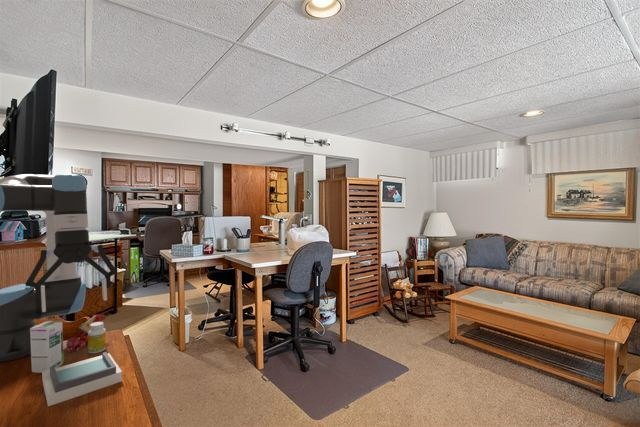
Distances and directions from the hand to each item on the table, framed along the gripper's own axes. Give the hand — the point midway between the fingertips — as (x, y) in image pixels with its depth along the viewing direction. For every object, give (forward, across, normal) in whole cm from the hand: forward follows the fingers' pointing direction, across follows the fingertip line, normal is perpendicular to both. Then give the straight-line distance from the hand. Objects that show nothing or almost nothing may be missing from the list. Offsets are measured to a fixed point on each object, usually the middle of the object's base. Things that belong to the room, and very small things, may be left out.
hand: (76, 305), depth 89 cm
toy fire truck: (+22, +4, +37) cm, 43 cm away
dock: (+24, +1, +7) cm, 25 cm away
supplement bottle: (+23, +7, +29) cm, 37 cm away
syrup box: (+23, -7, +24) cm, 34 cm away
